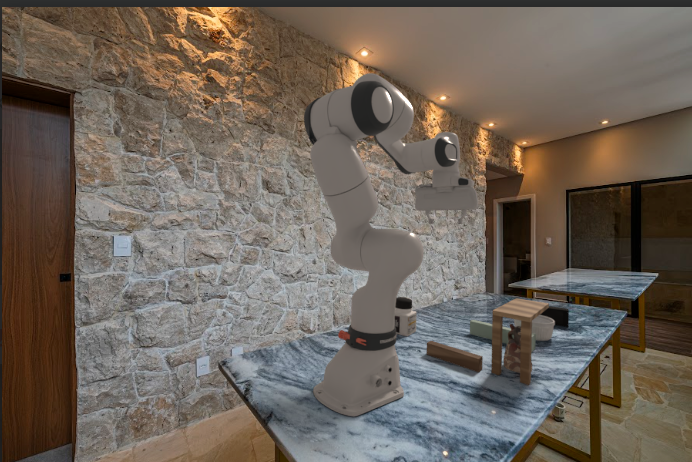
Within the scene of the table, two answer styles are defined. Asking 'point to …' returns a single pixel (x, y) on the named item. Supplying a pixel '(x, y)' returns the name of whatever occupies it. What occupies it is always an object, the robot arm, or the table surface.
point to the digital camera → (557, 315)
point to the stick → (455, 356)
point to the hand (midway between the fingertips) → (445, 223)
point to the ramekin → (540, 327)
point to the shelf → (526, 314)
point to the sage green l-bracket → (486, 332)
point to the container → (404, 316)
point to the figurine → (513, 350)
